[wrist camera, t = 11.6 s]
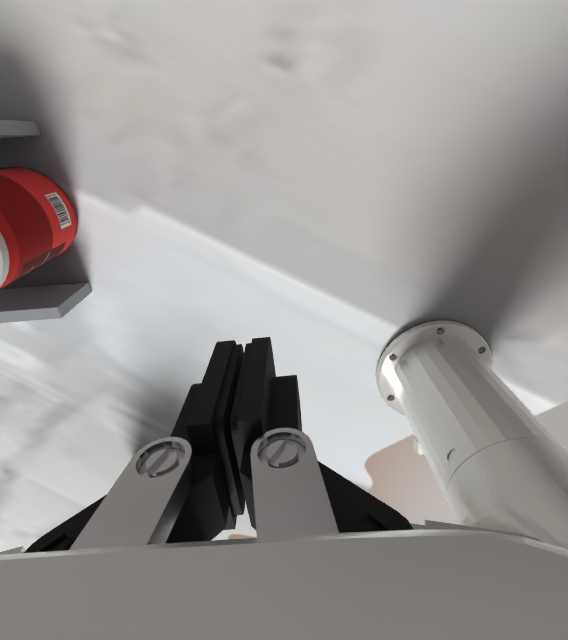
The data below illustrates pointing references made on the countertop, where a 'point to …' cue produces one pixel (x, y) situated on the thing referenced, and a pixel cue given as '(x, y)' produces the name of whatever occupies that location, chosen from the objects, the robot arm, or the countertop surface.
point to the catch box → (38, 298)
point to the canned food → (32, 222)
